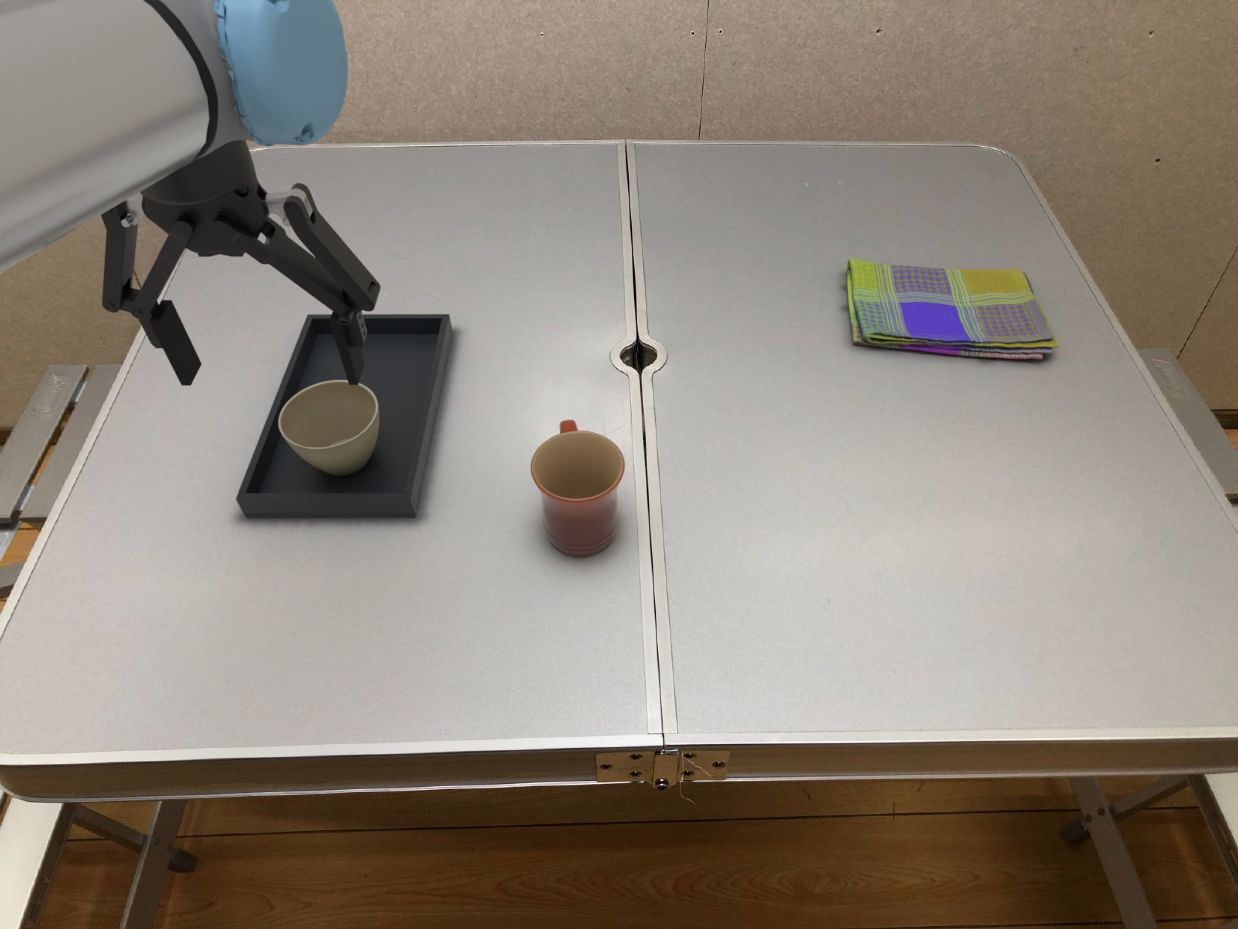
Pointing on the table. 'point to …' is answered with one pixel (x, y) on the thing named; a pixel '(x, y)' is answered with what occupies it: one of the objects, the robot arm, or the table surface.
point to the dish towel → (947, 311)
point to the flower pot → (332, 426)
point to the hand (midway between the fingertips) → (274, 374)
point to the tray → (408, 402)
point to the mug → (578, 488)
